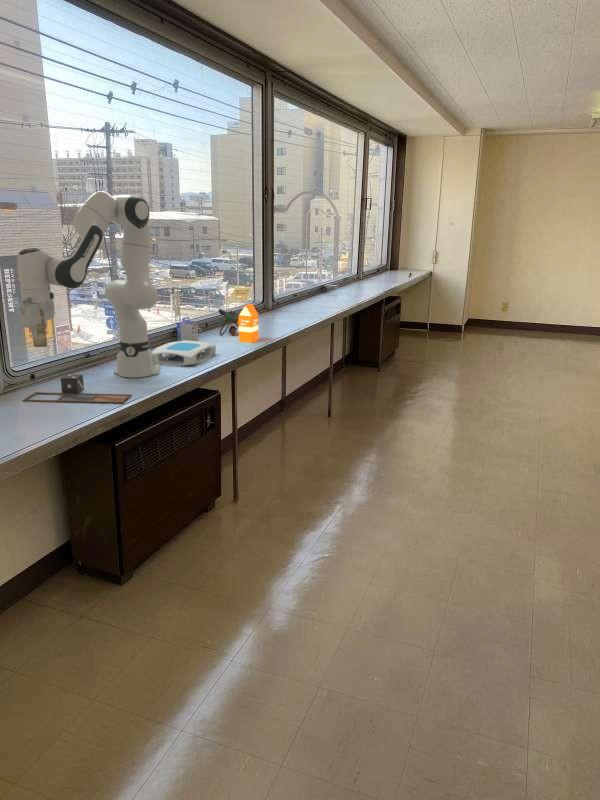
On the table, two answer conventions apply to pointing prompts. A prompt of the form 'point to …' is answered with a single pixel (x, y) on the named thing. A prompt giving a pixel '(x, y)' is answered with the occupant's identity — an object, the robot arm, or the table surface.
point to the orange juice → (248, 324)
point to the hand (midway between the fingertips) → (39, 335)
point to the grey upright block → (187, 330)
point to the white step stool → (184, 352)
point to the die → (72, 383)
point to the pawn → (41, 333)
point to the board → (84, 398)
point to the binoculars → (231, 319)
